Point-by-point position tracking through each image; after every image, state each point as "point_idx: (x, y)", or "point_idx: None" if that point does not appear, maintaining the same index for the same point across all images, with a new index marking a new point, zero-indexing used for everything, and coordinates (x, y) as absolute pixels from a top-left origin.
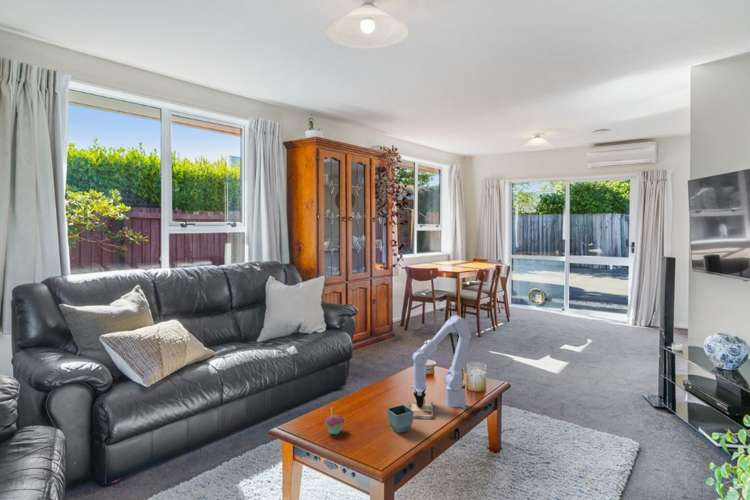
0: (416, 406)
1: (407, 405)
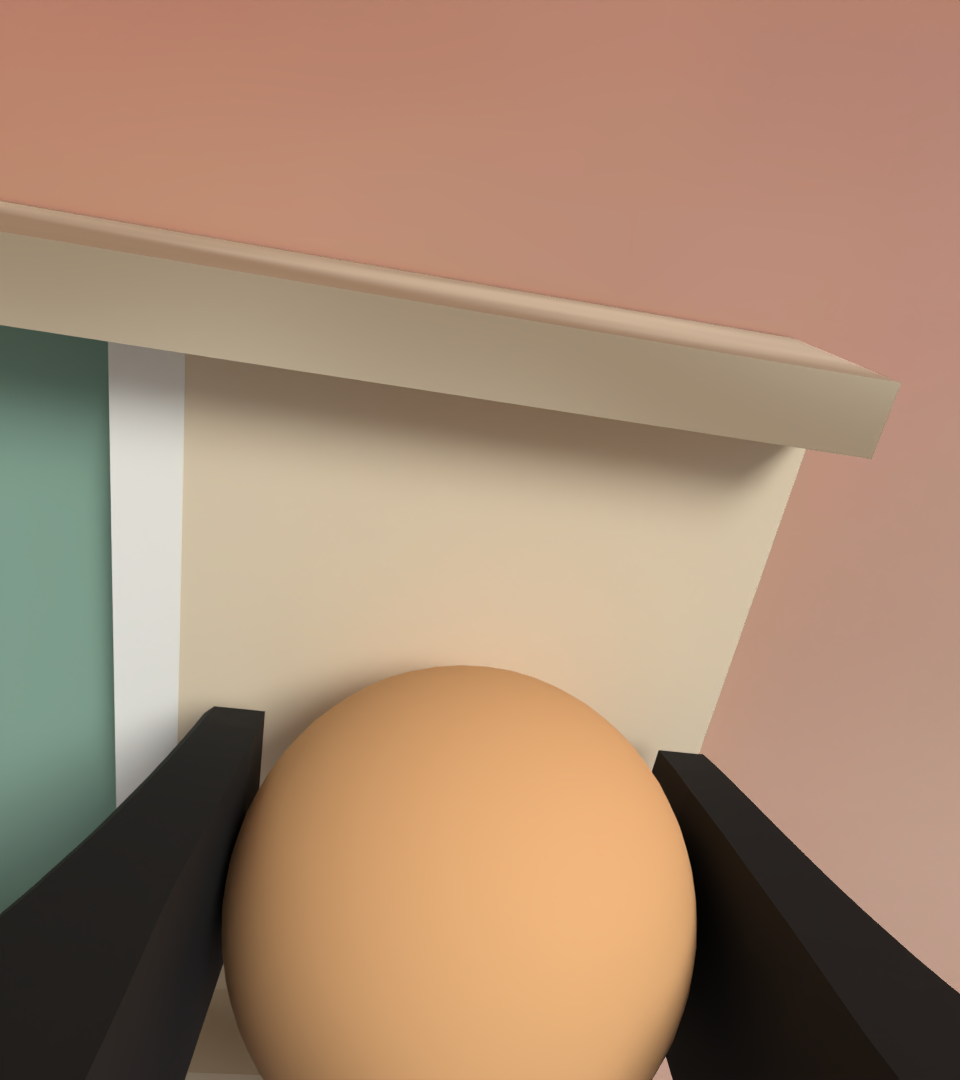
0: (511, 642)
1: (344, 295)
